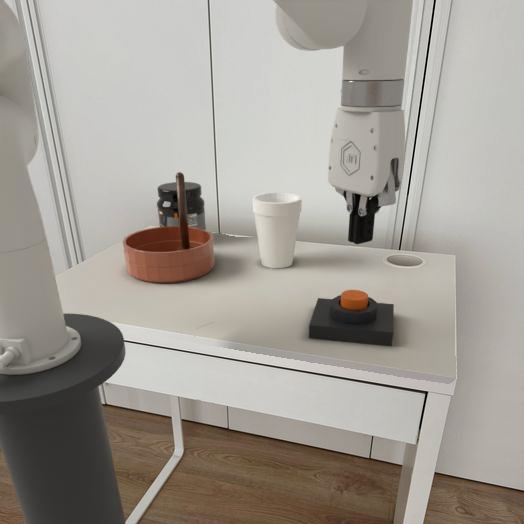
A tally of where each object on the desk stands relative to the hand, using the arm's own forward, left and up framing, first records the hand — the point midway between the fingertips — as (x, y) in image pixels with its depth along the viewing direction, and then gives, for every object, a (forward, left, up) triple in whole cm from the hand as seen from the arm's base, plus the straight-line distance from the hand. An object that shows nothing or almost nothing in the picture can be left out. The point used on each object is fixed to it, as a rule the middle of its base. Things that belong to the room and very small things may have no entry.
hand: (360, 241), depth 73 cm
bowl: (+19, +37, -14) cm, 44 cm away
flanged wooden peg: (+23, +35, -12) cm, 44 cm away
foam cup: (+26, +17, -14) cm, 34 cm away
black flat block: (0, 0, -14) cm, 14 cm away
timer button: (0, 0, -10) cm, 10 cm away
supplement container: (+37, +41, -14) cm, 57 cm away
